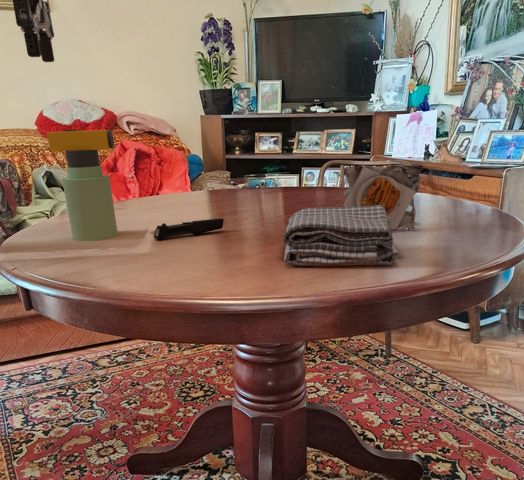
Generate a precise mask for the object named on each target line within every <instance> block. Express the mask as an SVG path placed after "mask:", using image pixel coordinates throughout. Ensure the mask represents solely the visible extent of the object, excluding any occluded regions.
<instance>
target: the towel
mask: <svg viewBox="0 0 524 480" xmlns="http://www.w3.org/2000/svg"><path fill="white" fill-rule="evenodd" d="M393 234H394V233H393V229H391V227H390V222H389V220H388V218H387V214H386V210H385V208H384V206H383V205H376V206H366V207H365V206H363V207H342V206H340V207H338V206H337V207H333V206H332V207H307V208H302V209H299V210H298V211H296V212H294V213H292V215H291V216H290V217H289V218H288V220H287V225H286V227H285V230H284V234H283V236H282V240H283V242H284V243H285V244H286V246H285V250H284V257H283V261H284V263H285V264H287V265H291V266H297V267H328V266H329V267H330V266H331V267H332V266H333V267H336V266H339V267H340V266H356V265H357V266H363V265H365V266H366V265H371V266H373V265H374V266H375V265H376V266H377V265H381V266H382V265H383V266H391V265H394V264H395V263H396V260H397V259H398V257H399V251H398V250H397V249H396V248H395V247H394V245H393V244H394V237H393Z"/></svg>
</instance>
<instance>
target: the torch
mask: <svg viewBox="0 0 524 480" xmlns="http://www.w3.org/2000/svg"><path fill="white" fill-rule="evenodd" d="M46 136H47V142H48V147H49V152H52V153H53V152H65V151H79V150H98V151H101V150H102V151H103V150H112V149H114V148H115V139H114V133H113V131H112V130H110V129H99V130H98V129H96V130H95V129H94V130H93V129H92V130H77V129H63V131H47V132H46Z"/></svg>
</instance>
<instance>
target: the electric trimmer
mask: <svg viewBox="0 0 524 480" xmlns="http://www.w3.org/2000/svg"><path fill="white" fill-rule="evenodd" d="M224 221H225V219H224V218H223V217H222V218H221V217H220V218H210V219H201V220H200V219H199V220H191V221H186V222H184V221H183V222H181V223H178V224H170V225H167V224H166V223H164V222H163V223H162V224H161V225H157V226H156V227H155V229H154V233H153V239H154V240H155V241H158V240H159V241H162V240H164V239H165V238H171V237H179V236H185V235H195V236H197V235H200V234H204V233H209V232H213V231H218V230H221V229H222V228H223V227H224V223H225V222H224Z"/></svg>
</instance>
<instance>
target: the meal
mask: <svg viewBox="0 0 524 480" xmlns="http://www.w3.org/2000/svg"><path fill="white" fill-rule="evenodd" d="M423 167H424V166H423V165H422V164H419V165H416V164H414V165H413V164H411V165H410V164H409V165H407V164H406V165H402V164H401V165H400V164H399V165H397V164H396V165H394V164H392V165H391V164H389V165H387V166H372V165H371V166H370V165H359V166H346V167H344V174H345V179H346V181H347V185H348V189H346V190H344V191H342V193H343V195H344V198H345V201H344V202H343V203H342V206H341V207H363V206H365V207H366V206H376V205H383V206H384V208H385V210H386V214H387V218H388V220H389V222H390V227H391V230H393V229H398V230H400V228H403V229H404V228H408V229H414V230H415V229H416V222H415V221H416V207H415V201H414V199H415V198H414V197H415V195H416V194H417V193H419V189H420V181H421V180H420V177H421V176H420V175H421V173H422V171H423ZM409 206H410V207H412V209H410V211H408V209H409Z"/></svg>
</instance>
